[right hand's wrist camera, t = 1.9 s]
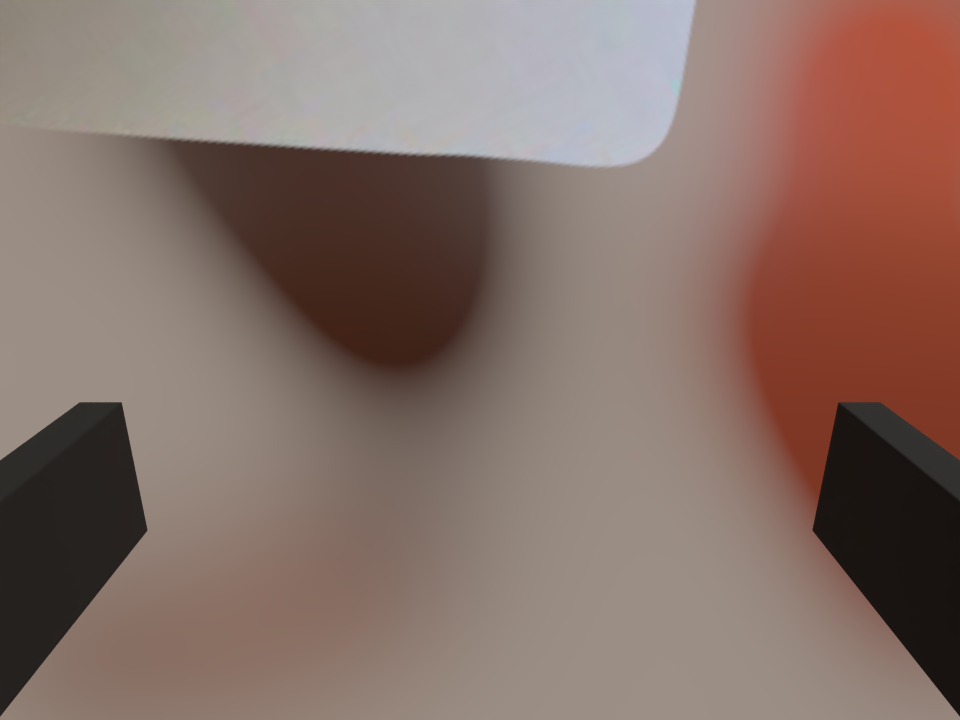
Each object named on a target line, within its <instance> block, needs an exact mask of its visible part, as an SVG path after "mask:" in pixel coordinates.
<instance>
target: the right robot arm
mask: <svg viewBox="0 0 960 720" xmlns="http://www.w3.org/2000/svg"><path fill="white" fill-rule="evenodd" d="M146 532H147V526H146V521H145V516H144V511H143V506H142V501H141V496H140V491H139V486H138V481H137V476H136V472H135V466H134V461H133V457H132V452H131V447H130V442H129V437H128V432H127V427H126V422H125V417H124V412H123V407H122V403H121V402H108V403H107V402H102V403H101V402H94V403H93V402H80V403H78V404H77V405H76V406H74V407H73V408H72V409H70V410H69V411H67V412H66V413H65V414H63V415H62V416H61V417H59V418H58V419H56V420H55V421H54V422H52V423H51V424H50V425H48V426H47V427H45V428H44V429H43V430H41V431H40V432H39V433H37V434H36V435H35V436H33V437H32V438H30V439H29V440H28V441H26V442H25V443H24V444H22V445H21V446H19V447H18V448H17V449H15V450H14V451H13V452H11V453H10V454H9V455H7V456H6V457H4V458H3V459H2V460H0V716H1V715H2V713H3V712H4V711H5V710H6V708H7V707H8V706H9V705H10V703H11V702H12V701H13V700H14V698H15V697H16V696H17V695H18V693H19V692H20V691H21V689H22V688H23V687H24V686H25V684H26V683H27V682H28V681H29V679H30V678H31V677H32V676H33V674H34V673H35V672H36V671H37V669H38V668H39V667H40V665H41V664H42V663H43V662H44V660H45V659H46V658H47V657H48V655H49V654H50V653H51V652H52V650H53V649H54V648H55V646H56V645H57V644H58V643H59V641H60V640H61V639H62V638H63V636H64V635H65V634H66V633H67V631H68V630H69V629H70V628H71V626H72V625H73V624H74V623H75V621H76V620H77V619H78V617H79V616H80V615H81V614H82V612H83V611H84V610H85V609H86V607H87V606H88V605H89V604H90V602H91V601H92V600H93V599H94V597H95V596H96V595H97V593H98V592H99V591H100V590H101V588H102V587H103V586H104V585H105V583H106V582H107V581H108V580H109V578H110V577H111V576H112V575H113V573H114V572H115V571H116V569H117V568H118V567H119V566H120V564H121V563H122V562H123V561H124V559H125V558H126V557H127V556H128V554H129V553H130V552H131V550H132V549H133V548H134V547H135V545H136V544H137V543H138V542H139V540H140V539H141V538H142V537H143V535H144V534H145V533H146ZM813 532H814V533H815V534H816V535H817V537H818V538H819V539H820V540H821V542H822V543H823V544H824V545H825V547H826V548H827V549H828V551H829V552H830V553H831V554H832V556H833V557H834V558H835V559H836V561H837V562H838V563H839V564H840V566H841V567H842V568H843V569H844V571H845V572H846V573H847V575H848V576H849V577H850V578H851V580H852V581H853V582H854V583H855V585H856V586H857V587H858V588H859V590H860V591H861V592H862V593H863V595H864V596H865V597H866V599H867V600H868V601H869V602H870V604H871V605H872V606H873V607H874V609H875V610H876V611H877V612H878V614H879V615H880V616H881V617H882V619H883V620H884V621H885V623H886V624H887V625H888V626H889V628H890V629H891V630H892V631H893V633H894V634H895V635H896V636H897V638H898V639H899V640H900V641H901V643H902V644H903V645H904V646H905V648H906V649H907V650H908V651H909V653H910V654H911V655H912V657H913V658H914V659H915V660H916V662H917V663H918V664H919V665H920V667H921V668H922V669H923V670H924V672H925V673H926V674H927V676H928V677H929V678H930V679H931V681H932V682H933V683H934V684H935V686H936V687H937V688H938V689H939V691H940V692H941V693H942V695H943V696H944V697H945V698H946V700H947V701H948V702H949V703H950V705H951V706H952V707H953V708H954V710H955V711H956V712H957V713H958V715H959V716H960V460H958V459H957V458H956V457H954V456H953V455H952V454H950V453H949V452H947V451H946V450H945V449H943V448H942V447H941V446H939V445H938V444H936V443H935V442H934V441H932V440H931V439H930V438H928V437H927V436H925V435H924V434H923V433H921V432H920V431H919V430H917V429H916V428H914V427H913V426H912V425H910V424H909V423H908V422H906V421H905V420H903V419H902V418H901V417H899V416H898V415H897V414H895V413H894V412H893V411H891V410H890V409H888V408H887V407H886V406H884V405H883V404H882V403H880V402H873V403H872V402H848V403H847V402H839V403H838V407H837V412H836V417H835V422H834V427H833V432H832V437H831V442H830V447H829V451H828V456H827V461H826V466H825V471H824V476H823V481H822V486H821V491H820V496H819V501H818V506H817V511H816V516H815V521H814V526H813Z"/></svg>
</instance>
